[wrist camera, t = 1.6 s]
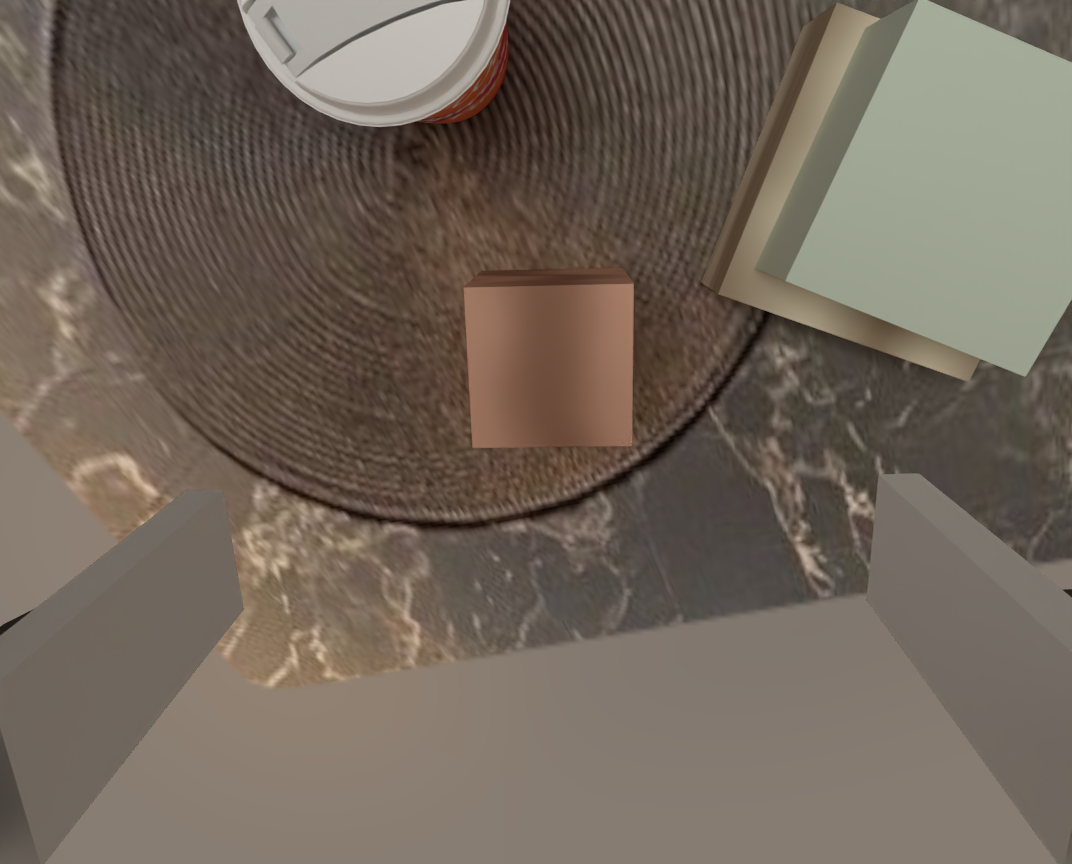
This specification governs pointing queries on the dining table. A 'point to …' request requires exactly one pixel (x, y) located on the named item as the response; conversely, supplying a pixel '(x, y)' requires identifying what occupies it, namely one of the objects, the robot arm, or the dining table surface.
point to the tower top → (940, 188)
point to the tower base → (769, 185)
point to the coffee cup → (384, 55)
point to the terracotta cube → (550, 357)
